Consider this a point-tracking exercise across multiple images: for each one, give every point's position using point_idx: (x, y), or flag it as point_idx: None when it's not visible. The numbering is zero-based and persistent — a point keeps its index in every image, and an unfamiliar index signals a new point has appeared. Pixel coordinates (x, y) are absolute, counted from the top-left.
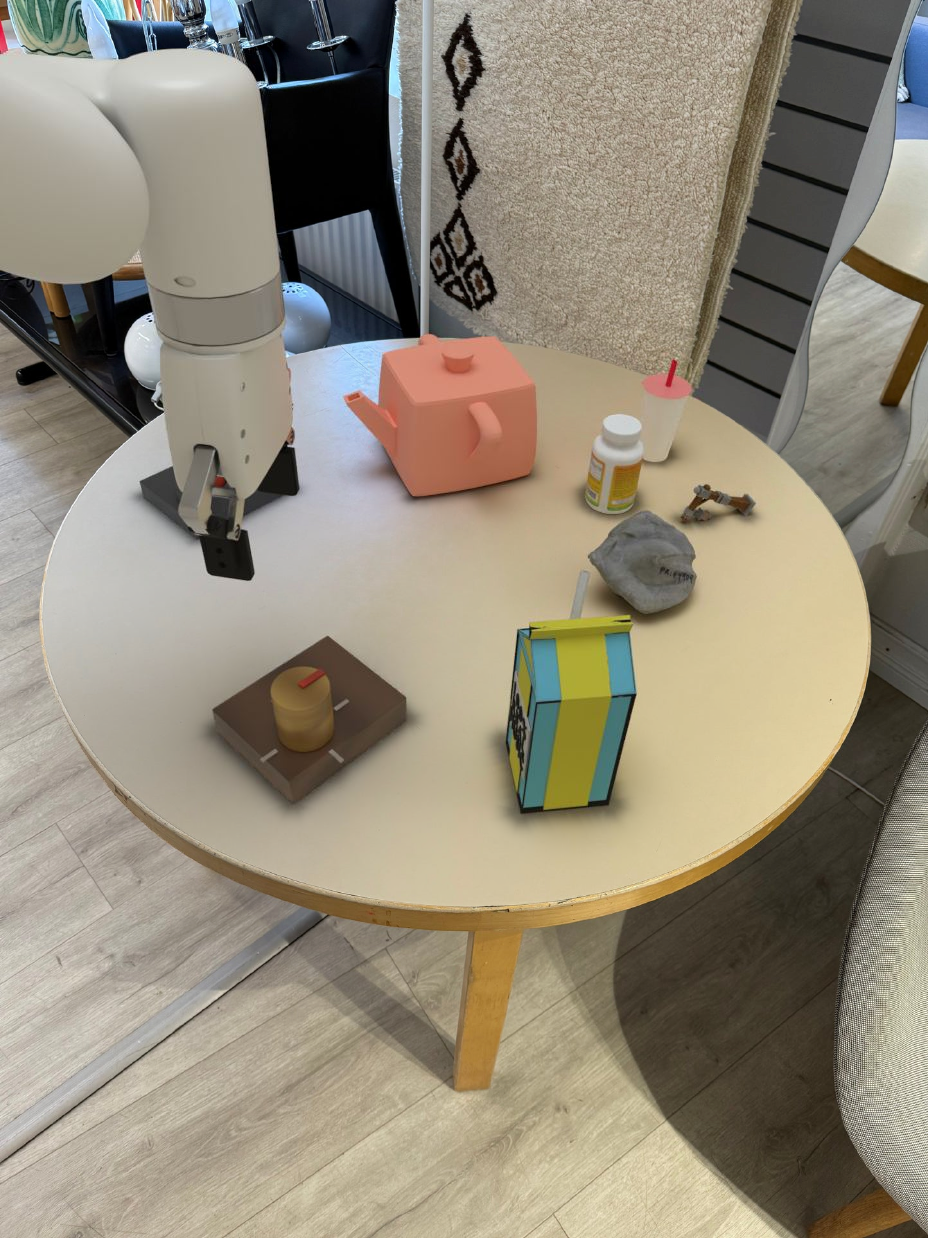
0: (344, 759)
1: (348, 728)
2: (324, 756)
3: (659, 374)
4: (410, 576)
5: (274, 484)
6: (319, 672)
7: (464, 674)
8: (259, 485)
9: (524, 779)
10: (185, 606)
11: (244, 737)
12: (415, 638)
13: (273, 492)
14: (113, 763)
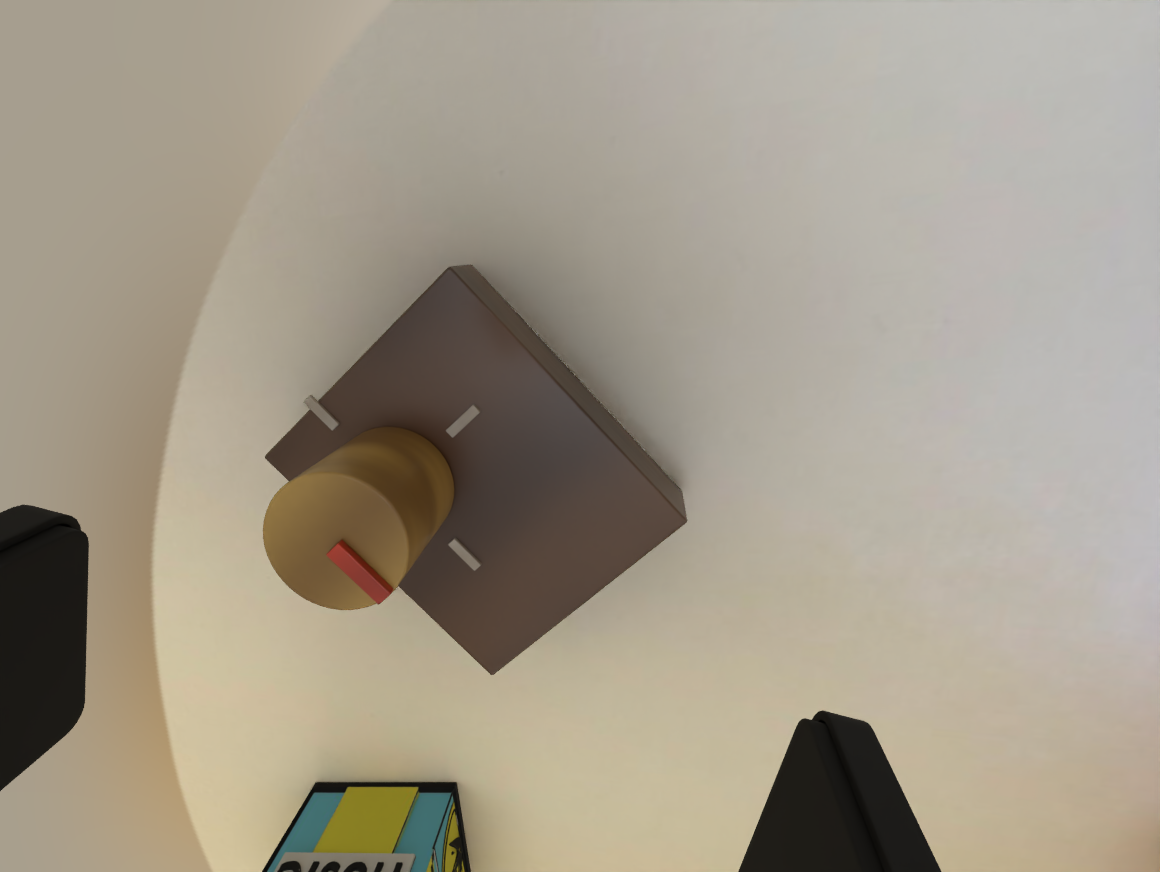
0: None
1: None
2: None
3: None
4: (942, 665)
5: (777, 863)
6: (377, 592)
7: (623, 739)
8: (811, 757)
9: (297, 847)
10: (916, 106)
11: (368, 354)
12: (732, 661)
13: (772, 796)
14: (380, 30)
